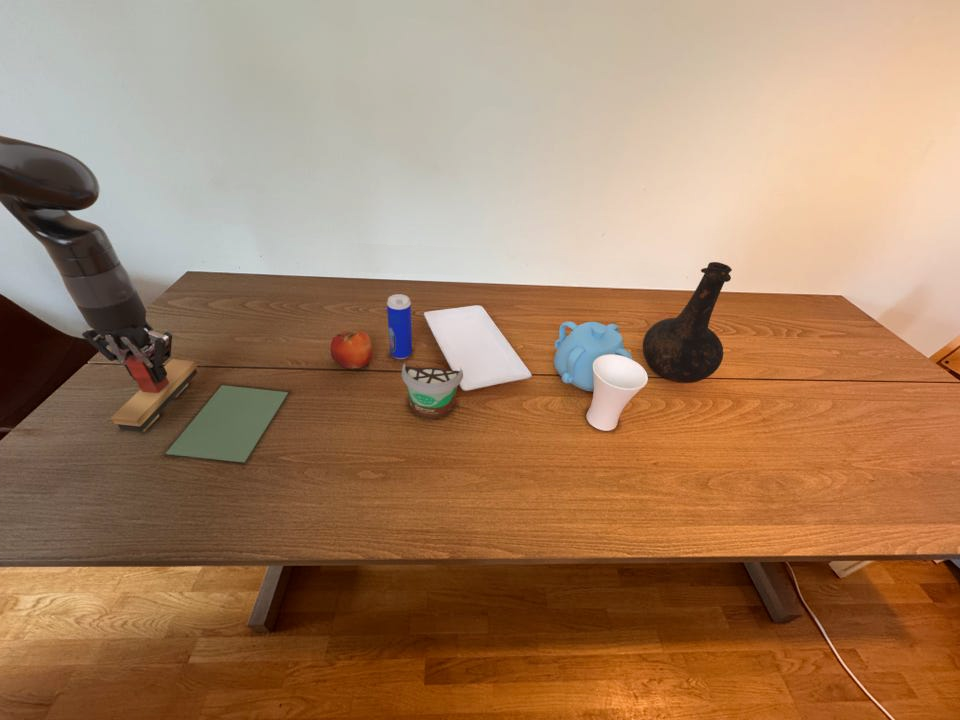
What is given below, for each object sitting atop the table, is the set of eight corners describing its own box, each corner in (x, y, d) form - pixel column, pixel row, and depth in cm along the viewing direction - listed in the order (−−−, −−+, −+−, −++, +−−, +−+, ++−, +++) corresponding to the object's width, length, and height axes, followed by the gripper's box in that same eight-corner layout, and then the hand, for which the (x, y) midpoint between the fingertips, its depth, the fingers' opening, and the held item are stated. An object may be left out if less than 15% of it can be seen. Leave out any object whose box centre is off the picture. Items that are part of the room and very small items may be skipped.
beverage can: (388, 348, 102) (385, 294, 93) (410, 345, 103) (408, 292, 94) (392, 361, 98) (388, 306, 89) (413, 358, 100) (412, 304, 90)
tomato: (380, 367, 96) (377, 339, 91) (340, 380, 92) (335, 351, 87) (365, 346, 102) (362, 318, 97) (327, 356, 98) (322, 328, 93)
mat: (244, 462, 74) (244, 462, 73) (165, 454, 74) (165, 453, 74) (288, 392, 88) (288, 392, 88) (222, 385, 88) (221, 385, 88)
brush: (144, 432, 72) (117, 389, 65) (118, 429, 72) (89, 386, 66) (199, 372, 84) (181, 331, 78) (178, 370, 84) (158, 329, 78)
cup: (627, 410, 92) (648, 362, 83) (625, 444, 84) (647, 396, 75) (580, 396, 94) (595, 348, 85) (573, 429, 86) (589, 380, 78)
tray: (480, 313, 117) (481, 303, 115) (531, 386, 95) (534, 375, 93) (421, 322, 112) (421, 311, 110) (461, 402, 90) (462, 390, 87)
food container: (397, 420, 84) (395, 383, 78) (403, 398, 89) (401, 362, 83) (459, 425, 84) (461, 388, 78) (461, 403, 89) (463, 367, 83)
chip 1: (145, 431, 77) (141, 425, 76) (123, 429, 77) (119, 423, 76) (159, 415, 80) (156, 410, 79) (139, 413, 80) (135, 407, 79)
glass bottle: (667, 400, 95) (721, 292, 78) (621, 353, 108) (658, 251, 91) (725, 386, 101) (788, 282, 83) (675, 343, 114) (720, 245, 96)
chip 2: (176, 398, 84) (173, 392, 83) (156, 395, 84) (153, 390, 83) (188, 384, 87) (185, 378, 86) (169, 382, 87) (166, 376, 86)
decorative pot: (550, 350, 107) (560, 304, 98) (613, 357, 106) (629, 312, 98) (552, 393, 94) (564, 344, 86) (624, 402, 94) (643, 354, 85)
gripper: (166, 286, 67) (202, 369, 78) (79, 277, 67) (127, 361, 78) (132, 310, 61) (176, 397, 72) (37, 300, 61) (95, 388, 72)
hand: (150, 378), depth 75 cm, fingers closed on brush, 3 cm apart
